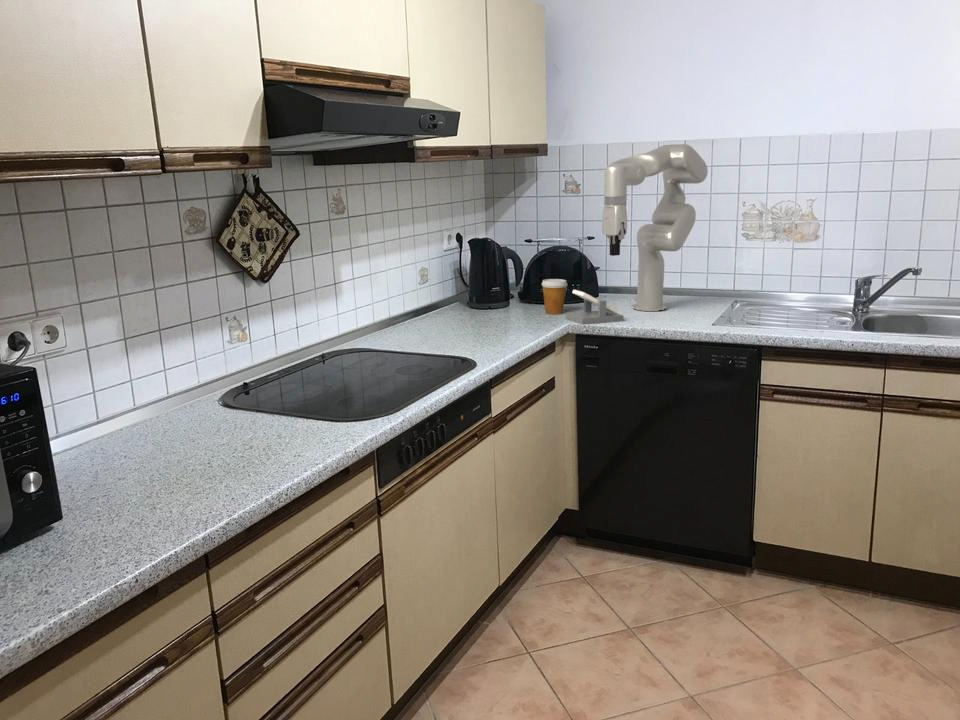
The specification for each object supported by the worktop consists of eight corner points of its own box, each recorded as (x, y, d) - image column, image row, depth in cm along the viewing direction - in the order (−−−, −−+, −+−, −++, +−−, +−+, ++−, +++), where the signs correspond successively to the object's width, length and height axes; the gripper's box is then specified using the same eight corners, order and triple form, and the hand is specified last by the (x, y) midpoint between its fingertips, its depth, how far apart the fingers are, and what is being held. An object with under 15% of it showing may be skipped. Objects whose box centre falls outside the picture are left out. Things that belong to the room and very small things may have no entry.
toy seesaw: (566, 318, 277) (566, 297, 275) (606, 315, 282) (606, 294, 281) (582, 324, 266) (582, 302, 264) (623, 321, 272) (624, 299, 270)
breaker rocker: (571, 292, 274) (573, 289, 273) (604, 309, 280) (606, 306, 280) (583, 296, 266) (584, 292, 266) (616, 313, 272) (618, 309, 272)
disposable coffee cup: (571, 312, 290) (572, 279, 287) (559, 316, 282) (560, 282, 279) (548, 309, 295) (548, 278, 292) (536, 313, 287) (536, 281, 284)
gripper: (595, 201, 274) (594, 253, 278) (616, 203, 260) (616, 258, 265) (613, 200, 276) (613, 252, 281) (636, 202, 263) (635, 256, 267)
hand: (614, 255), depth 273 cm, fingers closed
